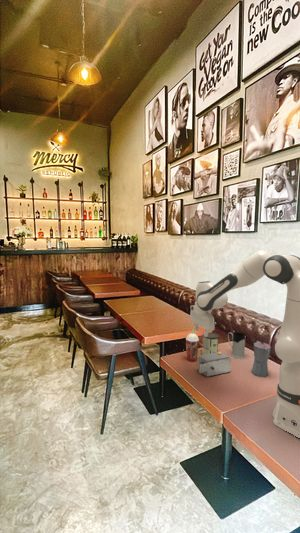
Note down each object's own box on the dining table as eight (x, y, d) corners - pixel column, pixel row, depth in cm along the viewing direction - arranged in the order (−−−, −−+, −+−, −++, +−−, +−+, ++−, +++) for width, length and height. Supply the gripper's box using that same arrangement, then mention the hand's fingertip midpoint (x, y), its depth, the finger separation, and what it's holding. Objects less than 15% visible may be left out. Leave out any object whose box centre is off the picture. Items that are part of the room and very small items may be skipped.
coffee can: (207, 351, 191) (208, 331, 189) (220, 355, 184) (221, 335, 182) (199, 355, 183) (199, 334, 182) (212, 360, 176) (213, 338, 175)
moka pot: (259, 380, 152) (261, 345, 150) (244, 367, 167) (246, 335, 165) (274, 378, 154) (277, 344, 152) (258, 366, 169) (260, 334, 167)
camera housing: (228, 371, 161) (229, 355, 160) (204, 376, 154) (205, 360, 153) (220, 365, 168) (220, 350, 168) (196, 370, 161) (197, 354, 160)
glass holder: (238, 359, 178) (239, 337, 176) (222, 351, 190) (223, 330, 189) (247, 357, 182) (249, 335, 180) (231, 349, 194) (233, 329, 193)
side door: (231, 372, 159) (232, 359, 159) (201, 379, 151) (201, 365, 150) (229, 370, 161) (229, 357, 160) (199, 377, 152) (199, 363, 152)
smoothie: (198, 363, 172) (199, 331, 170) (184, 361, 173) (185, 330, 171) (198, 357, 180) (199, 327, 178) (185, 356, 181) (186, 326, 179)
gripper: (218, 314, 145) (216, 339, 146) (198, 304, 164) (196, 327, 165) (208, 315, 143) (206, 340, 144) (188, 305, 162) (187, 328, 163)
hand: (201, 333), depth 155 cm, fingers open, 8 cm apart
